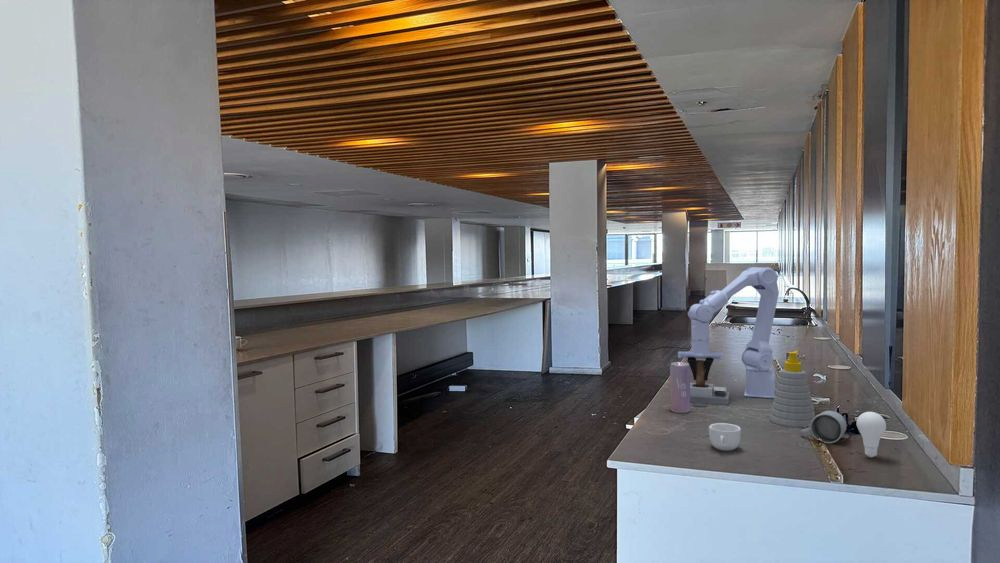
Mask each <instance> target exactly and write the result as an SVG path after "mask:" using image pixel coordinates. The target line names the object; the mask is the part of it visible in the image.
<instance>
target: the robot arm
mask: <svg viewBox="0 0 1000 563" xmlns="http://www.w3.org/2000/svg"><path fill="white" fill-rule="evenodd" d="M778 278H779V275H778V274H777V272H776V271H775V270H774V269H773V268H772V267H768V266H766V267H761V266H760V267H758V266H757V267H756V266H750V267H748V268H746V270H743V271H742V272H741V273H740V275H739V276H736V278H735V279H733V280H732V281H731V282H730V283H729V284H727V285H726V286H724V288H723V289H722V290H718V289H716V290H711V291H710V292H709V295H708V296H706V297H705V298H703V299H701V300H699V303H694V304H692V305H691V306H690V308H689V310H688V312H687V316H688V318H689V319H690V323H691V327H690V328H691V330H690V332H691V350H690V351H678V352H677V358H678V359H683V358H684V359H685V358H686V359H687V360H686V361H687V363H689V366H690V371H691V373H692V377H693V380H694V381H696V360H697V359H699V360H702V359H703V360H704V361H705V382H708V380H709V374H710V370H711V367H712V365H713V363H714V362H715V361H714V360H720V361H723V360H724V352H713V351H710V321H711V320H712V318H713V317H714V314H715V313H717V312H718V311H719V310H721V309H722V308H723V307H725V306H726V305H728V300H729V299H730V298H731V297H733V296H734V295H735V294H737V293H738V292H740V291H741V290H743V289H744V288H747V287H752V288H753V289H754V290H756V291H757V293H758V294H759V296H760V298H759V301H758V302H759V303H758V307H757V312H756V317H755V322H754V327H753V332H752V336H751V337H752V338H751V339H750V341H748V343H746V344H745V349H744V350H743V351H742V353H741V361H742V363H743V365H744V369H745V390H744V397H749V398H762V399H763V398H766V399H774V396H775V392H776V389H777V386H775V370H773V369H772V370H771V368H772V366H773V363H774V358H773V348H772V346H771V344H770V338H771V332H772V330H773V323H774V318H775V314H776V309H777V304H778V299H779V293H780V291H779V286H778Z"/></svg>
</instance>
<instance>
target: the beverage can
mask: <svg viewBox="0 0 1000 563" xmlns="http://www.w3.org/2000/svg"><path fill="white" fill-rule="evenodd" d="M669 366H670V367H669V373H670V374H669V379H670V380H669V381H670V382H669V383H670V387H669V390H670V391H669V394H670V398H669V399H670V400H669V401H670V402H669V403H670V404H669V405H670V406H669V407H670V411H671V412H673V413H677V414H687V413H689V412H690V411H691V402H690V383H691V368H690V365H689V363H688V362H682V361H677V362H676V361H674V362H671V363H670V365H669Z"/></svg>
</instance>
